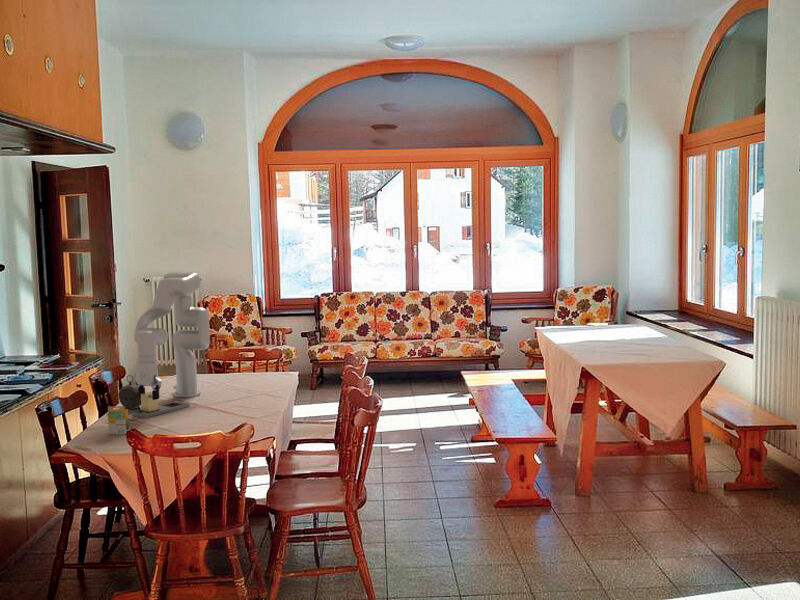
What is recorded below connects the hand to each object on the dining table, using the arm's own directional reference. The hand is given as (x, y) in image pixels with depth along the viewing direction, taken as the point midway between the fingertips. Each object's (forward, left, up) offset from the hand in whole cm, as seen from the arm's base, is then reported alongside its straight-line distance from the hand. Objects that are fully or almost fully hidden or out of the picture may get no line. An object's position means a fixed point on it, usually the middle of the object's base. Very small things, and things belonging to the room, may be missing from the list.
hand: (148, 398), depth 370 cm
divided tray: (0, +7, -8) cm, 10 cm away
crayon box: (+13, -24, -8) cm, 29 cm away
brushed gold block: (0, +1, -7) cm, 7 cm away
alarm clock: (-16, +2, -8) cm, 18 cm away
